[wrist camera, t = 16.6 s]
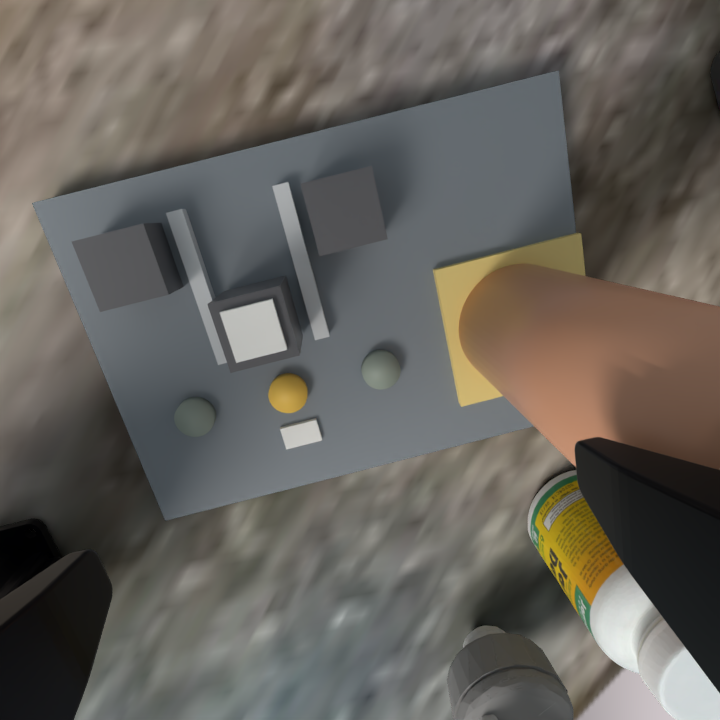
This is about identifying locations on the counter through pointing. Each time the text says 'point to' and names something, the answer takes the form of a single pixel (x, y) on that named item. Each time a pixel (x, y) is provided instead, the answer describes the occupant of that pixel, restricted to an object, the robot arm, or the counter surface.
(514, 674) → the light bulb
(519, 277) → the orange and grey cylinder
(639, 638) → the supplement bottle
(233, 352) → the block
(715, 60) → the card reader
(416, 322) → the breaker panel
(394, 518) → the counter surface
